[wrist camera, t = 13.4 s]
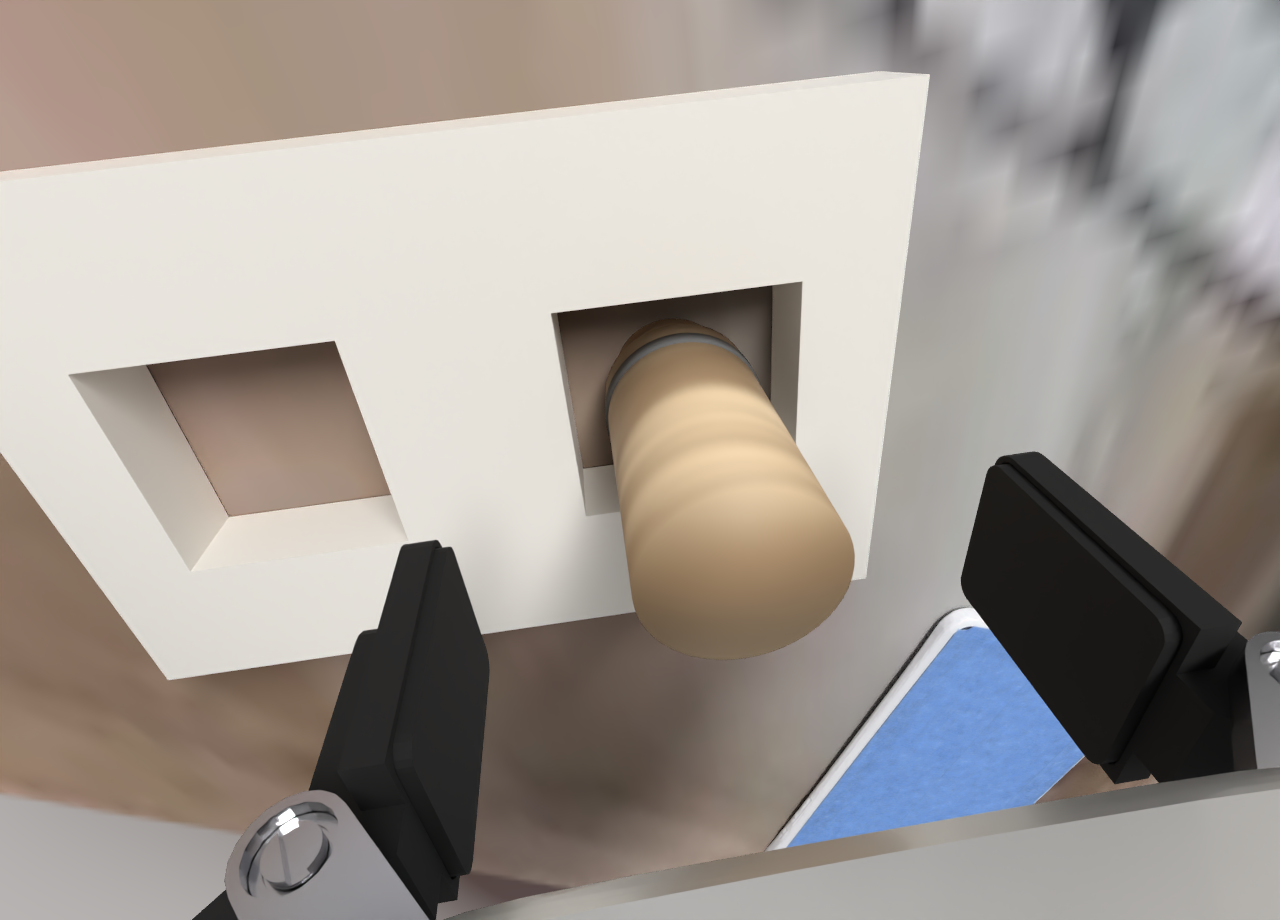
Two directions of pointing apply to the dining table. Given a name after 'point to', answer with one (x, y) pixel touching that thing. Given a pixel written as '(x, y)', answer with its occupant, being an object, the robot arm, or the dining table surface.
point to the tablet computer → (941, 744)
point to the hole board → (436, 340)
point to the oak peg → (717, 500)
